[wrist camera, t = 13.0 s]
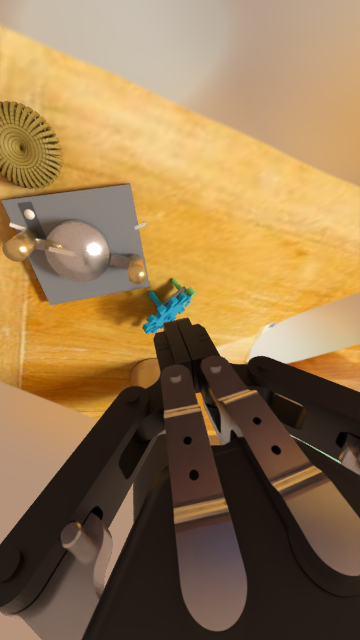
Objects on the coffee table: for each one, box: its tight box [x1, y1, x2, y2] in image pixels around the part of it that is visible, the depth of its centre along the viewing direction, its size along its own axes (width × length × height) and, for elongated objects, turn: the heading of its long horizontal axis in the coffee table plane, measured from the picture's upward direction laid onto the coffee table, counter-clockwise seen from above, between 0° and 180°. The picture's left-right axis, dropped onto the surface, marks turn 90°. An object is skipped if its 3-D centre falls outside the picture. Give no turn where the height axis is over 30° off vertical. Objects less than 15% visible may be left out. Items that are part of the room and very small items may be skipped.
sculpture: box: [0, 101, 63, 189], centre depth 27 cm, size 8×4×8 cm
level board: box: [2, 184, 150, 305], centre depth 35 cm, size 15×18×2 cm
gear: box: [142, 279, 196, 334], centre depth 41 cm, size 11×6×10 cm
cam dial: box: [2, 220, 147, 285], centre depth 31 cm, size 16×8×6 cm, turn 73°
